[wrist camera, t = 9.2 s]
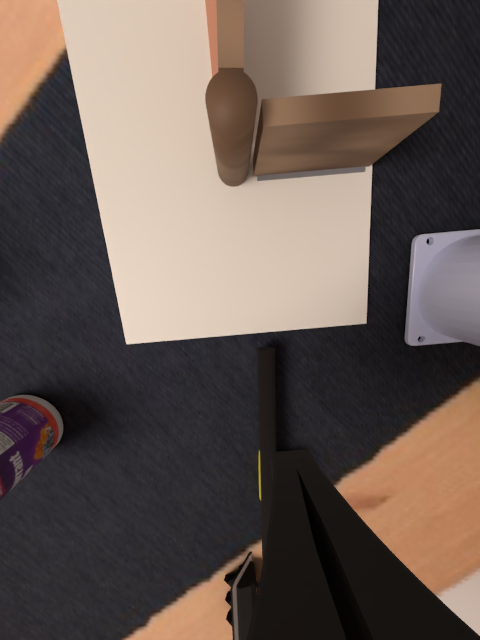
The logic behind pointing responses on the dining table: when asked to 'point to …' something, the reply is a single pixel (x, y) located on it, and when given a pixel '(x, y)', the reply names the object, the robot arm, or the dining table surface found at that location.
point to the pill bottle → (25, 436)
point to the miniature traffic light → (245, 577)
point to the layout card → (201, 170)
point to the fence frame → (309, 126)
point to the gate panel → (230, 34)
